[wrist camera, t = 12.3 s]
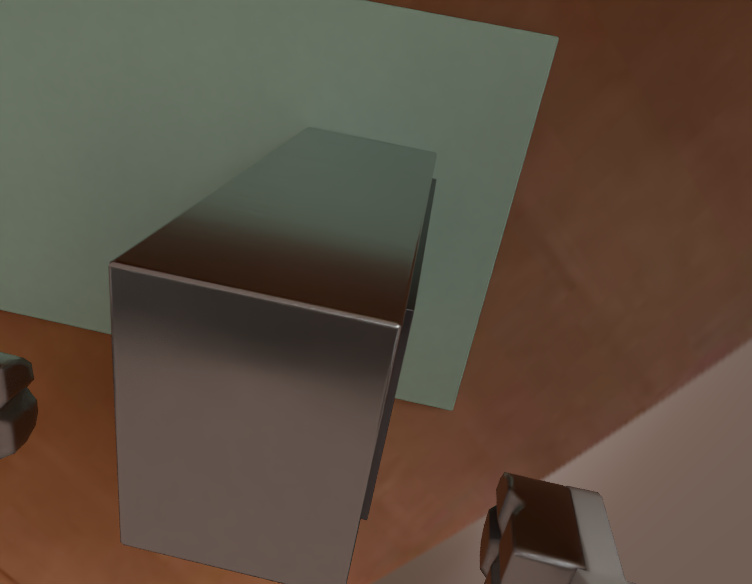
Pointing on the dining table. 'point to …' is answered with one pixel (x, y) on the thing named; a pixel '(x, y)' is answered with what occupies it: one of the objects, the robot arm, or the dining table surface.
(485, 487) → the dining table surface
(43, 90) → the mat
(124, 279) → the brushed metal box
